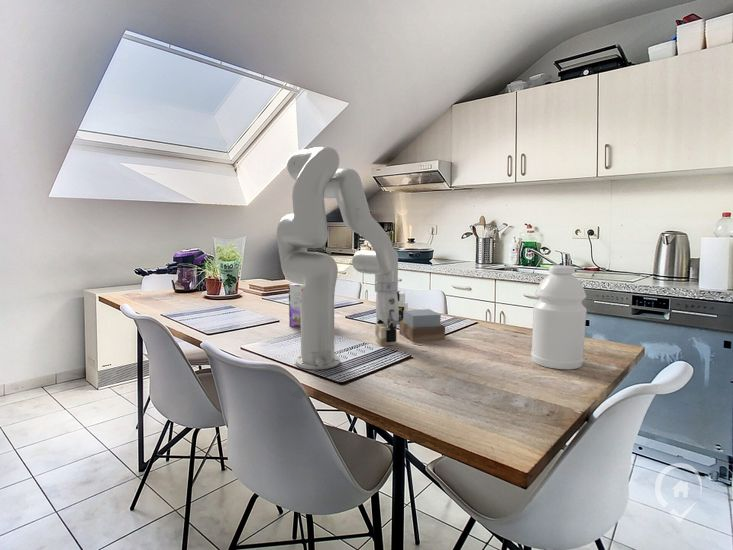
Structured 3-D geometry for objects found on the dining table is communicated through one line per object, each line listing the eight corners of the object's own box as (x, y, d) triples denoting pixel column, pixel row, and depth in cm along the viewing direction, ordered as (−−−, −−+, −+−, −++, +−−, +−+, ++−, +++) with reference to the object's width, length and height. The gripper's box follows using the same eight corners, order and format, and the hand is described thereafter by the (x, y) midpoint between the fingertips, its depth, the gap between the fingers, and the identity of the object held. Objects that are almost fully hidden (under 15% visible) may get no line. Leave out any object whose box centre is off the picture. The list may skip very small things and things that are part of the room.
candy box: (327, 324, 174) (326, 282, 172) (324, 327, 169) (324, 285, 167) (292, 323, 176) (292, 282, 174) (288, 326, 170) (288, 284, 168)
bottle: (551, 372, 120) (557, 269, 117) (520, 357, 133) (525, 264, 130) (594, 367, 124) (601, 268, 120) (560, 353, 137) (565, 263, 134)
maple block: (396, 344, 147) (396, 326, 146) (380, 346, 145) (380, 328, 144) (390, 340, 152) (390, 323, 151) (375, 341, 150) (375, 324, 149)
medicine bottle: (386, 322, 178) (386, 292, 177) (390, 318, 185) (391, 290, 184) (404, 323, 176) (404, 293, 175) (407, 319, 183) (408, 291, 181)
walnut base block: (444, 340, 153) (445, 326, 152) (412, 343, 149) (413, 328, 149) (429, 332, 164) (429, 319, 164) (399, 334, 161) (399, 321, 160)
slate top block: (440, 326, 152) (440, 314, 152) (412, 327, 150) (413, 316, 150) (429, 319, 162) (429, 309, 162) (403, 321, 160) (403, 310, 159)
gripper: (407, 290, 139) (406, 344, 141) (387, 282, 155) (387, 331, 157) (384, 291, 137) (384, 346, 139) (367, 283, 153) (367, 332, 155)
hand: (385, 338), depth 148 cm, fingers open, 8 cm apart
